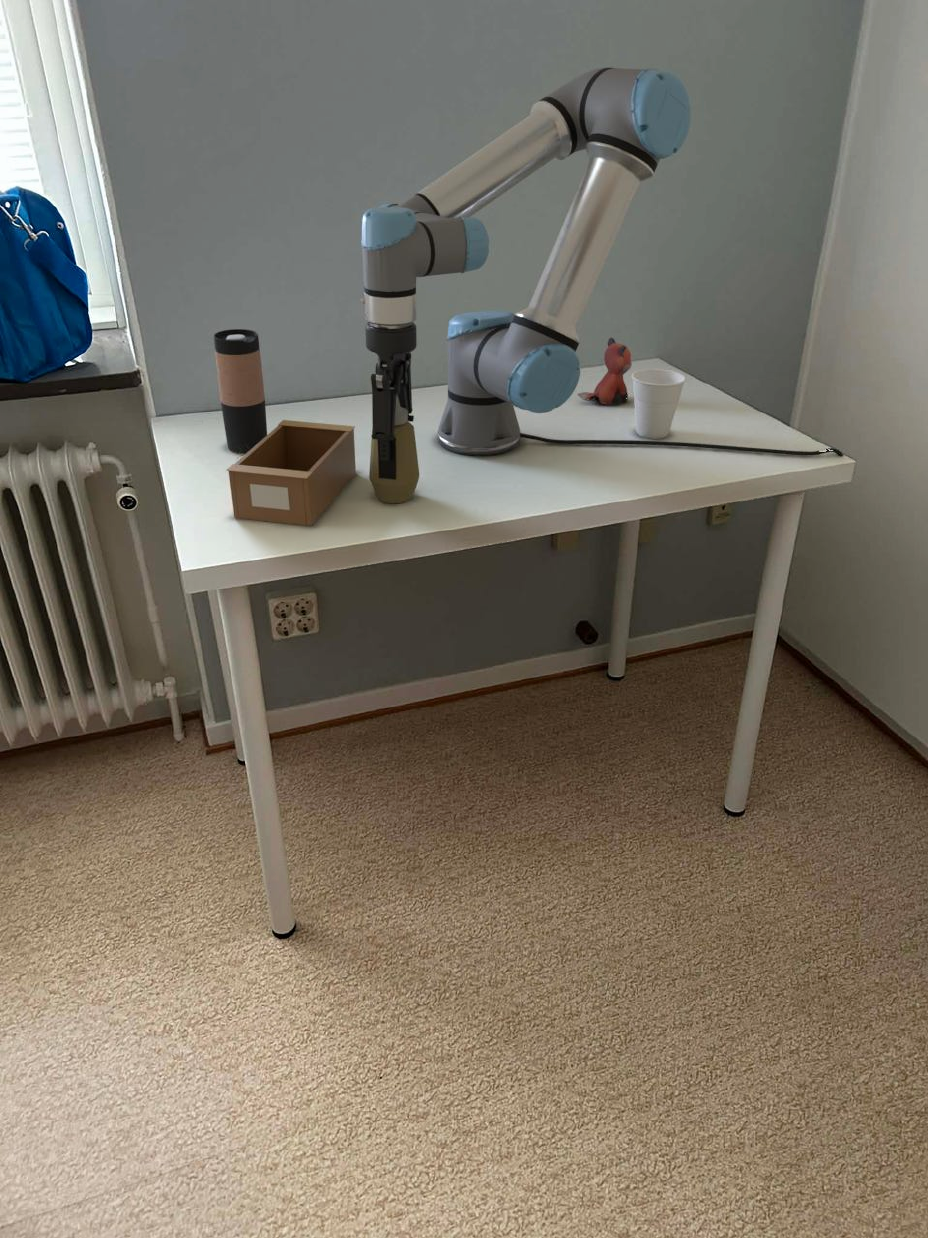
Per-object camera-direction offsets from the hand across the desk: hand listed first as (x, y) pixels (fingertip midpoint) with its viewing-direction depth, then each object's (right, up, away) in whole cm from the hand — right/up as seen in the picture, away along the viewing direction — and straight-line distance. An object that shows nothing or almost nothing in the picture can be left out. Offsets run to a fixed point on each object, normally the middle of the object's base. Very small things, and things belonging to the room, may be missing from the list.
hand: (394, 469), depth 153 cm
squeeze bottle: (0, -4, +3) cm, 5 cm away
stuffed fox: (+40, +21, +45) cm, 64 cm away
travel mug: (-28, +7, +21) cm, 36 cm away
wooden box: (-16, -4, +3) cm, 16 cm away
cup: (+47, +11, +29) cm, 56 cm away
